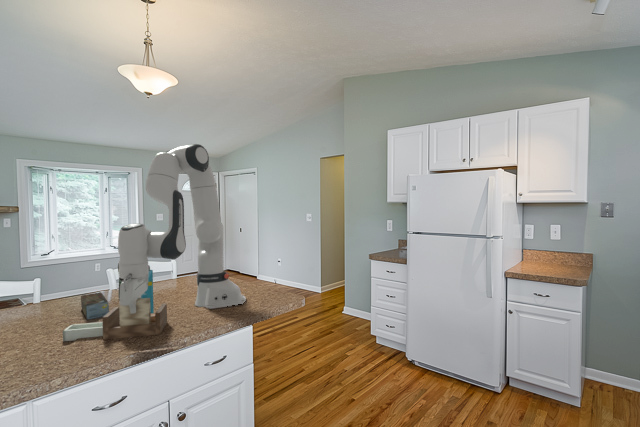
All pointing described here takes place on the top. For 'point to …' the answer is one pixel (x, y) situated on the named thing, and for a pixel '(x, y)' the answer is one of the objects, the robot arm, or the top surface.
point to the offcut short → (153, 317)
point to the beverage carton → (94, 305)
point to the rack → (115, 331)
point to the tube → (150, 290)
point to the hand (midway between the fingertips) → (135, 311)
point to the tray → (83, 331)
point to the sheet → (140, 316)
